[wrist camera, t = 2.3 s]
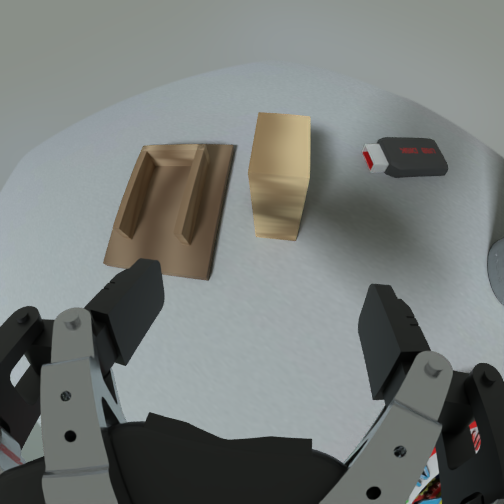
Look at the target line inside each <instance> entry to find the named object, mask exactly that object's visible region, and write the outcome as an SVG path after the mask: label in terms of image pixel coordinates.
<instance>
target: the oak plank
mask: <svg viewBox="0 0 504 504" xmlns="http://www.w3.org/2000/svg"><path fill="white" fill-rule="evenodd" d="M248 177H249V185H250V193H251V201H252V209H253V217H254V225H255V233H256V237H261V238H271V239H281V240H291V241H296V238H297V233H298V229H299V225H300V220H301V216H302V212H303V207H304V202H305V198H306V193H307V189H308V184H309V179H310V117H309V116H300V115H290V114H277V113H261V112H259V113H258V119H257V124H256V130H255V135H254V141H253V147H252V152H251V158H250V164H249V169H248Z"/></svg>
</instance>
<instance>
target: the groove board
mask: <svg viewBox="0 0 504 504" xmlns="http://www.w3.org/2000/svg"><path fill="white" fill-rule="evenodd" d="M233 153H234V147H233V145H216V144H177V145H149V146H143V147H142V150H141V152H140V154H139V157H138V159H137V162H136V164H135V166H134V169H133V171H132V174H131V177H130V179H129V182H128V184H127V187H126V190H125V193H124V195H123V198H122V201H121V204H120V207H119V210H118V213H117V216H116V219H115V222H114V225H113V230H112V233H111V237H110V240H109V243H108V247H107V251H106V254H105V258H104V262H103V263H104V264H105V265H107V266H112V267H118V268H124V269H129V268H130V267H131V266H132V265H133V264H134V263H135V262H136V261H137V260H138V259H140V258H144V259H152V260H158V261H159V262H160V265H161V272H162V274H164V275H171V276H178V277H185V278H193V279H200V280H209V275H210V269H211V263H212V258H213V252H214V247H215V241H216V236H217V231H218V226H219V220H220V215H221V210H222V205H223V200H224V195H225V191H226V186H227V181H228V176H229V172H230V167H231V162H232V158H233Z"/></svg>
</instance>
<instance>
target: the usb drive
mask: <svg viewBox="0 0 504 504" xmlns="http://www.w3.org/2000/svg"><path fill="white" fill-rule="evenodd" d="M362 154H363V156H364V158H365V161H366V163H367V165H368V168H369V170H370V172H371V173H376V172H385V174H387V175H389V176H392V177H395V178H400V177H418V176H442V175H445V174H446V173H447V171H448V165H447V162H446V161H445V159H444V157H443V155H442V153H441V151H440V150H439V148H438V146H437V144H436V143H435V141H434V140H432V139H428V138H397V137H385V138H382V139H379V140H378V142H377V144H364V147H363V149H362Z"/></svg>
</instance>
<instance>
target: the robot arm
mask: <svg viewBox="0 0 504 504" xmlns="http://www.w3.org/2000/svg"><path fill="white" fill-rule="evenodd" d="M488 273H489V279H490V283H491V286H492V289H493V291H494V293H495V295H496V297H497V299H498V300H499V301H500V302H501V303H502V304H503V305H504V237H503V238H502V239H500V240H499V241H497V242H496V243H494V244H493V246H492V247H491V249H490V252H489V256H488ZM163 304H164V287H163V280H162V272H161V265H160V262H159V261H158V260H152V259H144V258H140V259H138V260H137V261H136V262H135V263H134V264H133V265H132V266H131V267H130V268H129V269H126V270H124V271H122V272H120V273H118V274H117V275H116V276H115V277H114V278H113V279H112V280H111V281H110V283H108V284H107V285H106V286H105V287H104V289H102V290H101V291H100V292H99V293H98V294H97V295H96V296H95V297H94V298H93V299H92V300H91V301H90V302H89V303H88V304H87V305H86V306H85V307H84V308H71V309H68V310H65V311H63V312H62V313H60V314H59V315H58V316H57V317H56V319H55V320H45V319H41V316H40V314H39V311H38V309H37V308H35V307H32V306H26V307H23V308H20V309H18V310H17V311H15V312H14V313H13V314H12V315H11V316H10V317H9V318H8V319H7V320H6V321H5V322H4V323H3V325H2V326H1V327H0V504H405V503H406V501H407V500H408V498H409V496H410V495H411V493H412V491H413V489H414V488H415V486H416V484H417V482H418V480H419V478H420V476H421V475H422V473H423V471H424V469H425V467H426V464H427V462H428V460H429V458H430V456H431V454H432V452H433V449H434V447H435V448H436V455H437V461H438V469H439V477H440V486H441V498H442V504H504V381H503V379H502V377H501V375H500V373H499V372H498V371H497V369H495V368H494V367H493V366H491V365H489V364H487V363H479V364H477V365H476V366H475V367H474V368H473V370H472V371H471V373H470V374H468V373H463V372H458V371H453V369H452V366H451V364H450V362H449V361H448V360H447V359H446V358H445V357H444V356H442V355H441V354H439V353H437V352H433V351H431V350H430V347H429V345H428V343H427V341H426V339H425V337H424V335H423V332H422V330H421V328H420V326H418V322H417V320H416V318H414V317H415V316H414V314H413V312H412V310H411V308H410V307H409V306H408V305H407V304H406V303H405V302H404V301H403V300H402V299H397V297H396V295H395V293H394V291H393V289H392V287H391V286H390V285H382V284H371V285H370V286H369V289H368V292H367V295H366V298H365V302H364V305H363V308H362V311H361V314H360V317H359V322H358V333H359V337H360V341H361V345H362V350H363V354H364V359H365V363H366V368H367V372H368V377H369V382H370V387H371V393H372V398H373V400H384V401H385V406H384V408H383V409H382V411H381V412H380V414H379V415H378V417H377V418H376V420H375V421H374V423H373V424H372V426H371V427H370V429H369V430H368V432H367V433H366V434H365V436H364V437H363V439H362V440H361V441H360V443H359V444H358V445H357V447H356V448H355V449H354V451H353V452H352V453H351V454H350V455H349V457H348V458H347V459H346V460H345V461H344V462H343V463H342V462H341V461H339V460H337V459H336V458H334V457H332V456H330V455H328V454H326V453H323V452H320V451H318V450H314V449H312V439H302V438H285V437H273V436H269V437H260V438H249V439H234V440H227V439H222V438H220V437H217V436H215V435H213V434H210V433H208V432H206V431H204V430H202V429H199V428H197V427H195V426H193V425H191V424H189V423H187V422H183V421H179V420H175V419H172V418H168V417H164V416H161V415H157V414H154V413H151V412H149V414H148V417H147V419H146V421H145V422H144V421H140V422H127V421H126V419H125V417H124V414H123V411H122V408H121V404H120V400H119V396H118V392H117V388H116V383H115V379H114V374H113V371H112V368H111V367H112V366H113V364H114V362H115V363H118V364H121V365H124V366H126V365H127V364H128V362H129V360H130V359H131V357H132V355H133V354H134V352H135V350H136V349H137V347H138V346H139V344H140V342H141V341H142V339H143V337H144V336H145V334H146V333H147V331H148V330H149V328H150V326H151V325H152V323H153V322H154V320H155V319H156V317H157V315H158V314H159V312H160V311H161V309H162V307H163ZM23 355H25V356H26V358H27V360H28V361H29V363H30V366H29V368H28V369H27V370H26V372H25V373H24V375H23V376H22V377H21V379H20V380H19V382H18V383H17V385H16V386H15V388H14V386H13V385H12V383H11V381H10V374H11V371H12V369H13V368H14V367H15V365H16V364H17V363H18V361H19V360H20V359H21V357H22V356H23ZM40 414H41V428H42V440H43V449H44V456H43V457H41V458H38V459H35V460H33V461H30V462H27V463H26V462H25V460H24V458H23V457H22V456H21V450H22V448H23V446H24V444H25V442H26V440H27V438H28V436H29V434H30V432H31V430H32V429H33V427H34V425H35V423H36V421H37V420H38V418H39V416H40ZM474 420H475V421H476V425H477V428H478V432H479V436H480V440H481V443H480V448H479V450H478V452H477V453H476V451H475V447H474V443H473V439H472V435H471V431H470V427H469V425H470V424H471V423H472V422H473V421H474Z"/></svg>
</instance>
